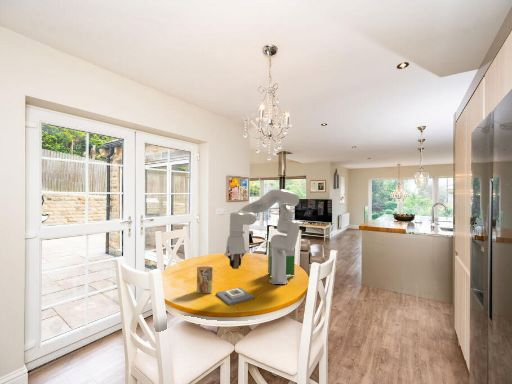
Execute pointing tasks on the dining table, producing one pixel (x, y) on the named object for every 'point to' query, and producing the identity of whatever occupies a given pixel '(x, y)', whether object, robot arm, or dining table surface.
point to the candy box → (204, 278)
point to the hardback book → (289, 261)
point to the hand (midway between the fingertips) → (235, 265)
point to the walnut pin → (236, 261)
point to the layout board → (234, 296)
